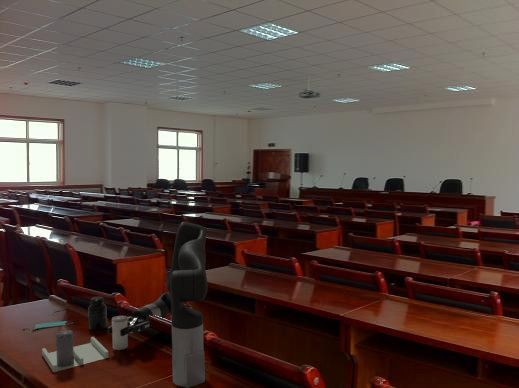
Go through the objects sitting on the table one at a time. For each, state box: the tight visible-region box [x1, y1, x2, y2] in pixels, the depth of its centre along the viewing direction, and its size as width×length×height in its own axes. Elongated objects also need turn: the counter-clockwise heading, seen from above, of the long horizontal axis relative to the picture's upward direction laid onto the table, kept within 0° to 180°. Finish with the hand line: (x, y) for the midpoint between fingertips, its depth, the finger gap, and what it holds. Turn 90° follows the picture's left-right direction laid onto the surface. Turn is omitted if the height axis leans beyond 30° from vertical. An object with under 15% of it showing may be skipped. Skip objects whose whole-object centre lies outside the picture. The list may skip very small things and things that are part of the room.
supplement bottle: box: [87, 296, 108, 332], centre depth 178 cm, size 7×7×12 cm
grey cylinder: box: [55, 329, 74, 367], centre depth 144 cm, size 5×5×10 cm
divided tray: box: [41, 336, 110, 373], centre depth 150 cm, size 16×17×3 cm
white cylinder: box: [111, 315, 129, 351], centre depth 155 cm, size 5×5×10 cm
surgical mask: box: [22, 307, 79, 332], centre depth 181 cm, size 21×4×10 cm
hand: (114, 332), depth 152 cm, fingers closed on white cylinder, 5 cm apart
